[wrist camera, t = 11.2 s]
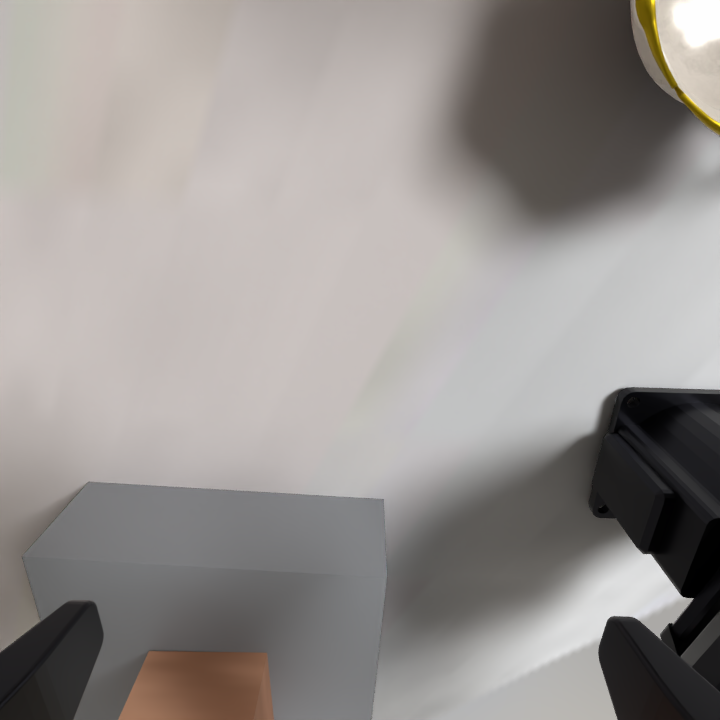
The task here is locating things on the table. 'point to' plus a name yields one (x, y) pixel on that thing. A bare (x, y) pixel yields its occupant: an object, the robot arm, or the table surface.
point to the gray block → (223, 588)
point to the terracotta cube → (201, 687)
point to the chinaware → (682, 51)
